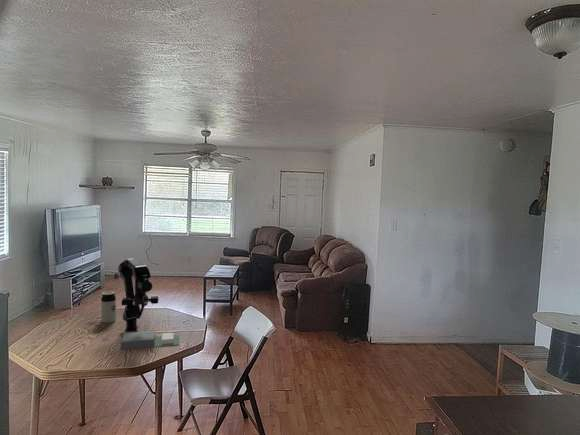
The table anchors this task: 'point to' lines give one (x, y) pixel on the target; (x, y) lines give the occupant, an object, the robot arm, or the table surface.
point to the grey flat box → (138, 340)
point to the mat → (159, 344)
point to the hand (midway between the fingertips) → (140, 315)
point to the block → (167, 338)
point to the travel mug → (108, 307)
